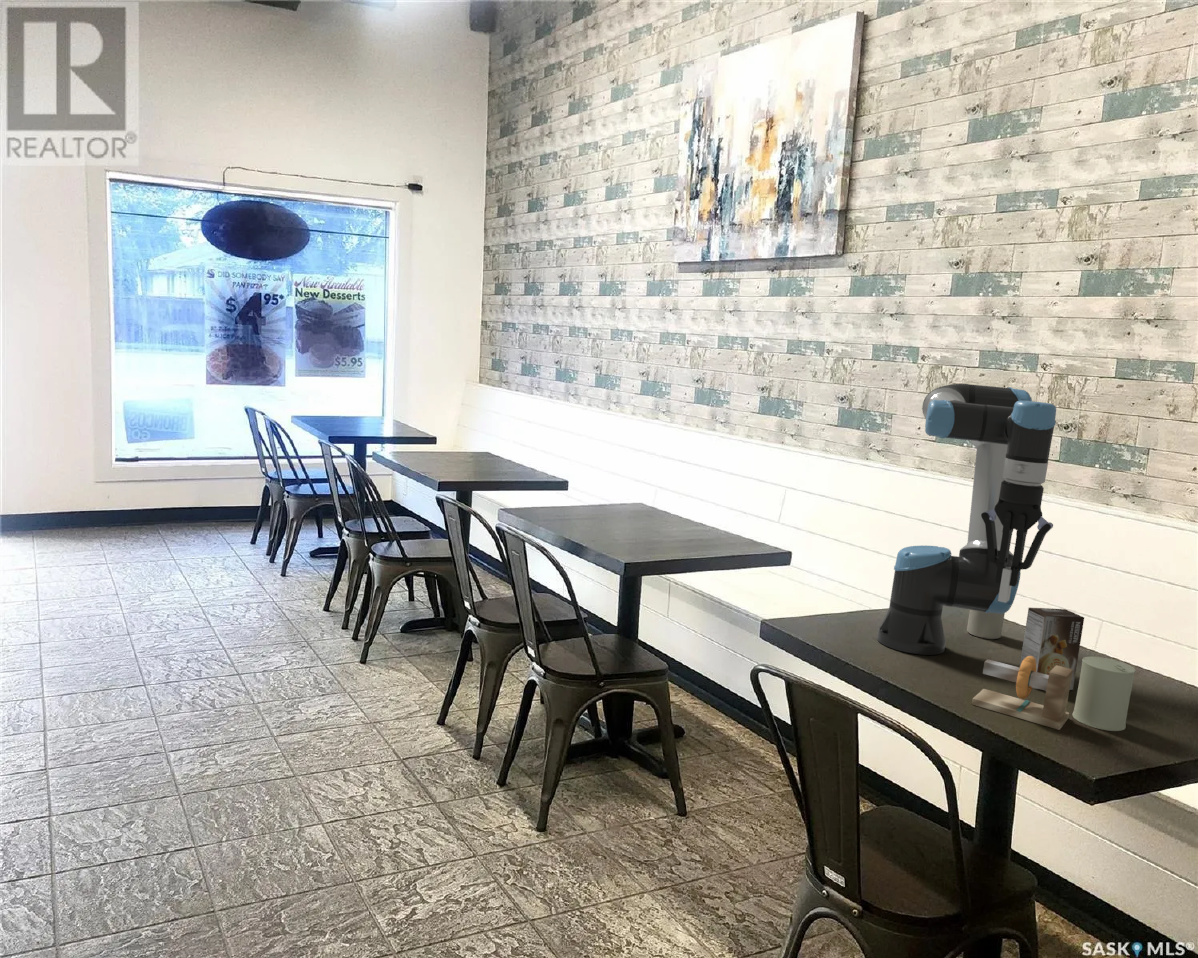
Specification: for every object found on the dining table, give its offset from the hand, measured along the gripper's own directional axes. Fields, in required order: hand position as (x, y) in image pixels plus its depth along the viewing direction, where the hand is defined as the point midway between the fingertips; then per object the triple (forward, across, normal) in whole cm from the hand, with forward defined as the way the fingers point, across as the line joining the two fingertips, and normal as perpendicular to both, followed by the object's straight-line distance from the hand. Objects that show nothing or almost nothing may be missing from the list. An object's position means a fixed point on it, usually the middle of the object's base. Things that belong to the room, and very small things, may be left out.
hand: (1003, 600), depth 186 cm
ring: (+18, +6, -1) cm, 19 cm away
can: (+21, +19, +7) cm, 29 cm away
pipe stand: (+21, +6, -1) cm, 22 cm away
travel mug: (+22, -14, +49) cm, 56 cm away
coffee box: (+21, +6, +21) cm, 31 cm away
